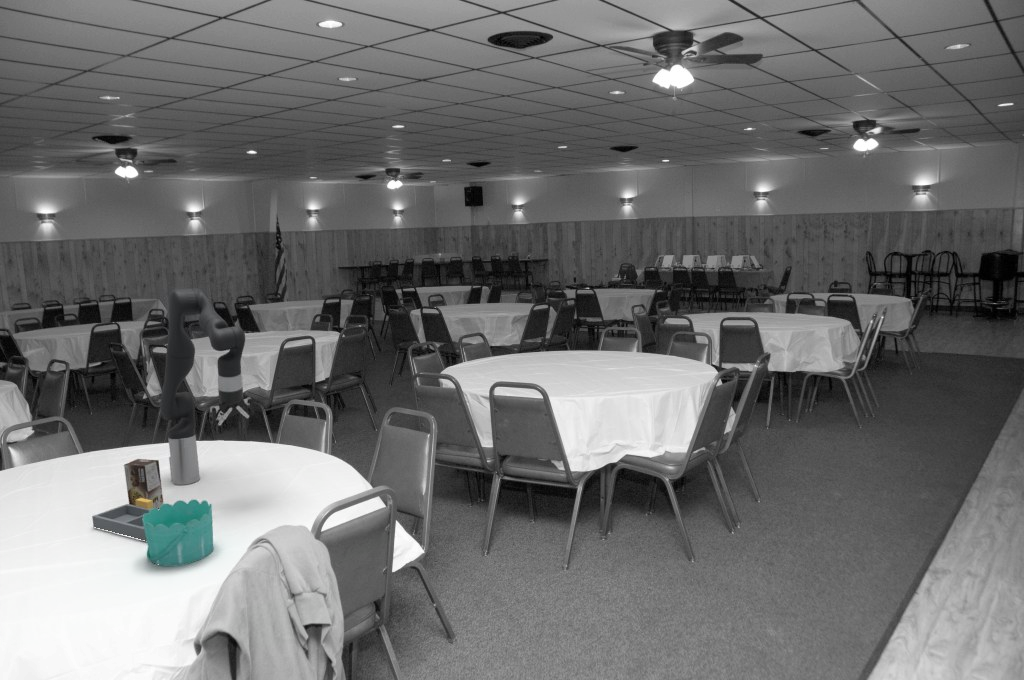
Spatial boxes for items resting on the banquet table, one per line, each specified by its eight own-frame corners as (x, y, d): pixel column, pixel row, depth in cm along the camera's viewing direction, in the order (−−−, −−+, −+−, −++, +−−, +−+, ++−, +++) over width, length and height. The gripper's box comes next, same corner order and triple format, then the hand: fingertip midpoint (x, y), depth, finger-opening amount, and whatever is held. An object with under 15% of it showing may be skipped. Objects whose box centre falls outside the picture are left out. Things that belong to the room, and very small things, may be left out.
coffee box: (164, 506, 264) (159, 459, 262) (150, 512, 258) (145, 465, 256) (143, 503, 267) (138, 458, 265) (128, 510, 261) (123, 463, 259)
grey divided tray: (93, 528, 246) (91, 510, 245) (134, 513, 258) (132, 495, 257) (153, 544, 231) (151, 524, 231) (193, 527, 243) (191, 509, 243)
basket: (213, 562, 217) (208, 517, 215) (141, 572, 212) (136, 527, 210) (218, 537, 235) (214, 495, 233) (152, 546, 230) (147, 504, 228)
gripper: (246, 377, 262) (248, 421, 267) (204, 387, 252) (207, 432, 258) (256, 385, 257) (258, 429, 262) (213, 395, 247) (216, 441, 253)
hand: (233, 430), depth 260 cm, fingers open, 8 cm apart
